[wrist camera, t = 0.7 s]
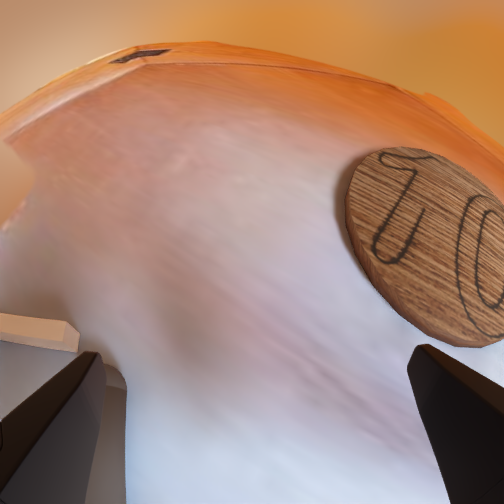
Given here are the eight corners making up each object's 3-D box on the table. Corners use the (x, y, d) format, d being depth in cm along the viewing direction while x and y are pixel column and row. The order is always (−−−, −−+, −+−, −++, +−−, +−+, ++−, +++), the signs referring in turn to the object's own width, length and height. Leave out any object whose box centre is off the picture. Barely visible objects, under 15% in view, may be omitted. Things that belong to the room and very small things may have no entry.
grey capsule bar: (133, 530, 14) (120, 542, 11) (90, 521, 14) (71, 530, 11) (133, 372, 21) (120, 361, 18) (92, 367, 20) (75, 356, 18)
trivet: (300, 266, 27) (305, 254, 25) (377, 132, 39) (381, 121, 38) (513, 387, 21) (526, 381, 19) (520, 222, 34) (527, 214, 32)
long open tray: (85, 601, 9) (69, 616, 6) (-16, 557, 8) (-37, 562, 5) (80, 333, 21) (62, 317, 19) (-12, 320, 20) (-32, 305, 18)
